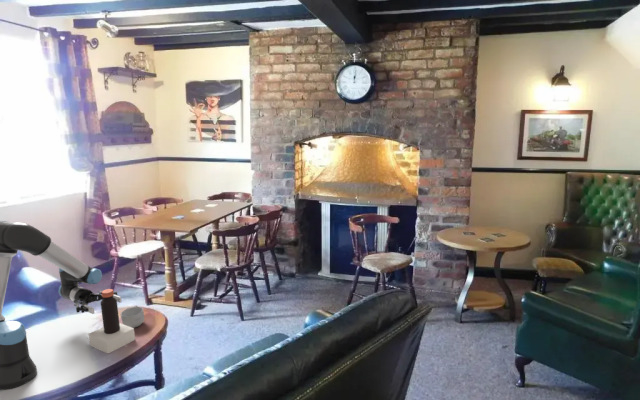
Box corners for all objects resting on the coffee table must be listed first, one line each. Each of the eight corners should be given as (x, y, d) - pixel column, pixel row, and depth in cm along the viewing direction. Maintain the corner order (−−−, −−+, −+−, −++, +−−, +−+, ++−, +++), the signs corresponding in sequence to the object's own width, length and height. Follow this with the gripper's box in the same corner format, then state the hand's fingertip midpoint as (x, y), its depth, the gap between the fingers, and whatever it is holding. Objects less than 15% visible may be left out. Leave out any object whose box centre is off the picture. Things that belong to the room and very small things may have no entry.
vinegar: (117, 325, 208) (112, 286, 204) (122, 330, 203) (117, 290, 199) (102, 330, 203) (97, 291, 199) (107, 335, 198) (102, 295, 195)
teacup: (139, 330, 215) (138, 315, 214) (118, 330, 216) (116, 315, 214) (150, 317, 229) (149, 303, 228) (130, 317, 229) (128, 303, 228)
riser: (108, 353, 195) (106, 341, 193) (89, 345, 202) (88, 333, 201) (135, 339, 206) (133, 328, 205) (117, 332, 213) (115, 321, 212)
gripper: (106, 293, 223) (131, 302, 212) (56, 312, 203) (82, 323, 192) (104, 280, 222) (130, 288, 211) (54, 298, 201) (80, 308, 190)
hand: (107, 305), depth 201 cm, fingers open, 13 cm apart
